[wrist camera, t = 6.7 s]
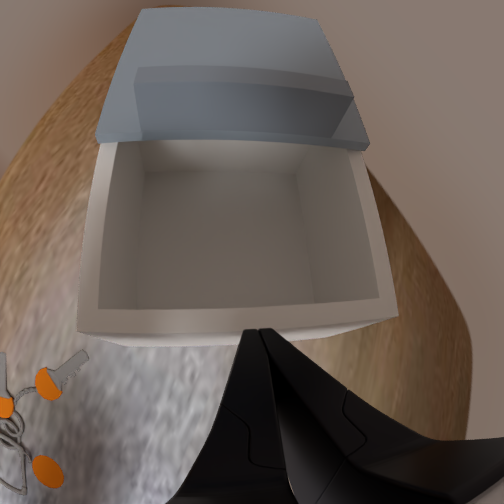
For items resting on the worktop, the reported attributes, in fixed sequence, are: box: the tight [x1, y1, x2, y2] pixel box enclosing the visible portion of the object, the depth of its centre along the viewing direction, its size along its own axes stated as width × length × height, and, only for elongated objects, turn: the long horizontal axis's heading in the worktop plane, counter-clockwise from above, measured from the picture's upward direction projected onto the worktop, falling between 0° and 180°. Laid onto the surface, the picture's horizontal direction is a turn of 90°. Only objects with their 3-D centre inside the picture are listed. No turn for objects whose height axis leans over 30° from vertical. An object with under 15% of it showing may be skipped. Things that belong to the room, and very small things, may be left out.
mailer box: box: [77, 140, 399, 347], centre depth 16 cm, size 12×12×8 cm
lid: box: [95, 7, 370, 151], centre depth 13 cm, size 12×12×3 cm
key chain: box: [0, 349, 89, 495], centre depth 14 cm, size 13×7×1 cm, turn 166°
